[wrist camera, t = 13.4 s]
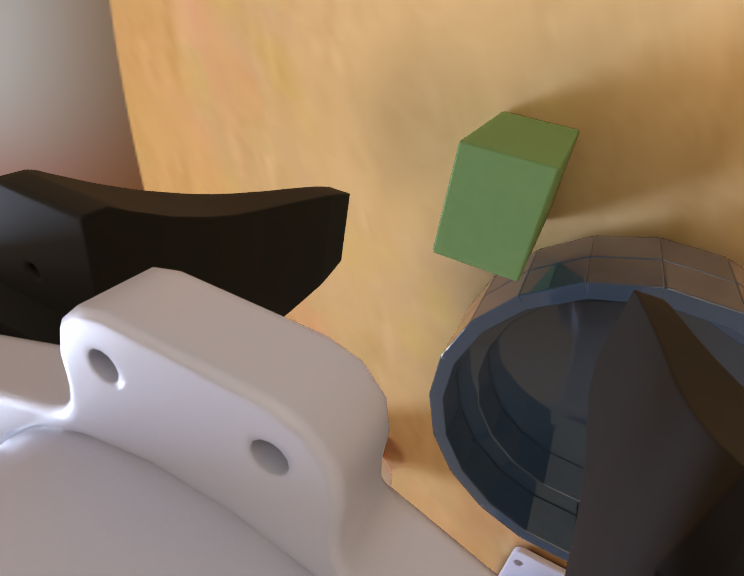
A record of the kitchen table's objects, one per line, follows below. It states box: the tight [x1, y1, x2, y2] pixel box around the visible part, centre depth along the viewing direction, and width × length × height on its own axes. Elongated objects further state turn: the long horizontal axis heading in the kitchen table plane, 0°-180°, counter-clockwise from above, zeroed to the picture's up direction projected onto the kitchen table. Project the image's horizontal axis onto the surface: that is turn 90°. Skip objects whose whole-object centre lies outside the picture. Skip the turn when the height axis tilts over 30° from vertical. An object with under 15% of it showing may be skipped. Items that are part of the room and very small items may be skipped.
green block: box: [433, 112, 579, 281], centre depth 16 cm, size 4×3×6 cm
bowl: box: [429, 236, 744, 562], centre depth 19 cm, size 13×13×4 cm
